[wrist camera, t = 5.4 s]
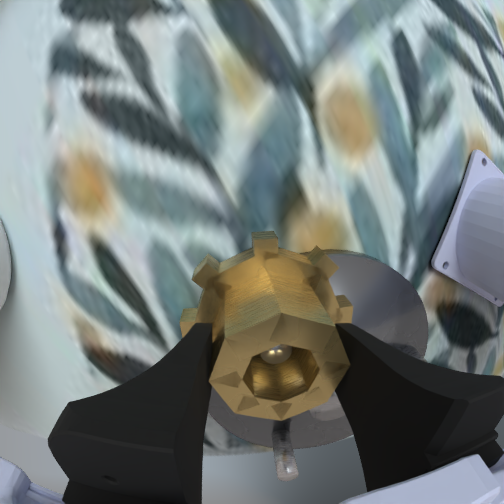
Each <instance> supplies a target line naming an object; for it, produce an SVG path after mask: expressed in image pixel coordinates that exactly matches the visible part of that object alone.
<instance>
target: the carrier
mask: <svg viewBox="0 0 504 504" xmlns="http://www.w3.org/2000/svg"><path fill="white" fill-rule="evenodd" d="M322 251H323V252H324V253H325V254H326V255H327V256H328V257H329V258H330V259H331V260H332V261H333V262H334V263H335V264H336V265H337V266H338V267H339V269H338V270H337V271H336V272H335V273H334V274H333V275H332V276H331V277H330V278H329V282H330V284H331V287H332V289H333V292H334V294H335V296H337V295H345V296H346V298H347V299H348V300H349V301H350V303H351V304H352V305H353V314H352V323H351V324H353V325H355V326H357V327H359V328H361V329H363V330H364V331H366V332H368V333H369V334H371V335H373V336H375V337H376V338H378V339H380V340H381V341H383V342H385V343H387V344H388V345H390V346H392V347H394V348H396V349H398V350H400V351H402V352H404V353H406V354H408V355H410V356H412V357H415V358H417V359H420V360H422V361H425V362H427V360H426V359H425V358H424V356H425V352H426V348H427V341H428V321H427V315H426V311H425V308H424V305H423V302H422V300H421V298H420V296H419V295H418V293H417V291H416V290H415V289H414V287H413V286H412V285H411V284H410V282H409V281H408V280H407V279H405V278H404V277H403V276H402V275H401V274H399V273H398V272H397V271H395V270H394V269H392V268H391V267H390V266H388V265H386V264H385V263H383V262H381V261H379V260H378V259H376V258H373V257H370V256H368V255H365V254H362V253H358V252H353V251H348V250H333V249H330V250H322ZM310 252H311V251H310ZM310 252H305V253H300V254H301V255H304V256H307V255H308V254H309V253H310ZM291 353H292V346H290V345H285V344H280V345H278V346H276V347H273V348H271V349H269V350H266V351H264V352H262V353H260V354H261V357H262V359H263V360H264V361H266V362H268V363H271V364H278V363H282V362H284V361H286V360H287V359H288V358H289V357H290V355H291ZM427 363H428V362H427ZM208 411H209V413H210V414H211V415H212V417H213V418H214V419H215V420H216V421H217V422H218V423H219V424H220V425H221V426H222V427H224V428H225V429H226V430H228V431H229V432H231V433H232V434H234V435H235V436H237V437H239V438H242V439H244V440H246V441H248V442H251V443H254V444H258V445H262V446H266V447H272V448H273V451H274V457H275V463H276V469H277V476H278V479H279V480H281V481H289V480H293V479H295V478H297V477H298V470H297V465H296V461H295V456H294V452H293V449H300V448H310V447H316V446H321V445H325V444H329V443H333V442H336V441H338V440H341V439H344V438H346V437H349V436H351V435H353V431H352V429H351V426H350V424H349V422H348V419H347V417H346V415H345V413H344V411H343V408H342V406H341V404H340V402H339V400H338V397H337V395H336V393H335V391H334V392H333V394H332V395H331V397H330V398H329V400H328V401H327V402H326V403H324V404H321V405H319V406H317V407H314V408H312V409H310V410H307V411H305V412H302V413H300V414H298V415H295V416H292V417H290V418H287V419H285V420H282V421H280V420H273V419H266V418H259V417H253V416H247V415H241V414H235V413H234V412H233V411H232V410H231V408H230V407H229V406H228V405H227V403H226V402H225V401H224V400H223V399H222V397H221V396H220V395H219V394H218V392H217V391H216V390H215V389H214V387H213V386H212V391H211V397H210V402H209V408H208Z"/></svg>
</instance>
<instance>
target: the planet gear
mask: <svg viewBox="0 0 504 504" xmlns="http://www.w3.org/2000/svg"><path fill="white" fill-rule="evenodd" d="M338 269H339V267H338V266H337V265H336V264H335V263H334V262H333V261H332V260H331V259H330V258H329V257H328V256H327V255H326V254H325V253H324V252H323V251H322V250H321V249H320V248H319V247H318V246H316V247H315V248H314V249H313V250H312V251H311V252H310V253H309V254H308V255H307V256H304V255H301V254H298V253H295V252H291V251H288V250H285V249H282V248H279V247H278V237H277V236H276V234H275V233H274V231H264V232H252V248H250V249H248V250H246V251H244V252H242V253H240V254H238V255H236V256H234V257H231V258H229V259H227V260H225V261H223V262H221V263H219V262H218V261H217V260H215V259H214V258H213V257H212V256H210V255H209V254H207V256H206V257H205V258H204V259H203V260H202V261H201V262H200V264H199V265H198V266H197V267H196V268H195V270H194V274H193V277H192V280H193V281H194V282H195V283H196V284H198V285H199V286H200V287H202V288H203V291H202V294H201V297H200V301H199V304H198V307H197V308H188V309H183V312H182V315H181V319H180V327H181V332H182V337H184V336H185V335H186V334H187V332H188V331H189V330H190V329H191V327H192V326H193V325H194V324H195V323H212V334H213V344H212V357H211V365H210V371H209V382H210V384H211V385H212V386H213V387H214V389H215V390H216V391H217V392H218V394H219V395H220V396H221V397H222V399H223V400H224V401H225V402H226V403H227V405H228V406H229V407H230V408H231V410H232V411H233V412H234V413H235V414H241V415H247V416H253V417H259V418H266V419H273V420H280V421H282V420H285V419H287V418H290V417H292V416H295V415H298V414H300V413H302V412H305V411H307V410H310V409H312V408H314V407H317V406H319V405H321V404H324V403H326V402H327V401H328V400H329V398H330V397H331V395H332V394H333V392H334V391H335V389H336V387H337V386H338V384H339V383H340V381H341V380H342V378H343V376H344V375H345V373H346V371H347V370H348V368H349V367H350V362H349V360H348V357H347V354H346V352H345V349H344V347H343V344H342V342H341V339H340V336H339V334H338V331H337V329H336V326H335V323H352V314H353V305H352V304H351V303H350V301H349V300H348V299H347V298H346V296H345V295H337V296H335V294H334V292H333V289H332V287H331V284H330V282H329V278H330V277H331V276H332V275H333V274H334V273H335V272H336V271H337V270H338ZM280 344H285V345H290V346H292V353H291V355H290V357H289V358H288V359H287V360H286V361H284V362H282V363H278V364H271V363H268V362H266V361H264V360H263V359H262V357H261V354H260V353H262V352H264V351H266V350H269V349H271V348H273V347H276V346H278V345H280Z"/></svg>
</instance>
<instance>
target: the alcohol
mask: <svg viewBox="0 0 504 504" xmlns="http://www.w3.org/2000/svg"><path fill="white" fill-rule="evenodd" d="M10 280H11V255H10V248H9V243H8V239H7V235H6V232H5V229H4V227H3V224H2V221H1V219H0V310H1V308H2V307H3V305H4V303H5V300H6V297H7V293H8V289H9V284H10Z"/></svg>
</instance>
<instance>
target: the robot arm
mask: <svg viewBox="0 0 504 504" xmlns="http://www.w3.org/2000/svg"><path fill="white" fill-rule="evenodd" d="M482 161H483V164H482ZM444 262H445V265H444V267H443V264H444ZM431 264H432V267H433V268H434V269H436V270H437V271H439V272H441V273H443V274H445V275H446V276H448V277H450V278H452V279H453V280H455V281H457V282H458V283H460V284H462V285H464V286H465V287H467V288H469V289H470V290H472V291H474V292H475V293H477V294H479V295H480V296H482V297H484V298H485V299H487V300H489V301H490V302H492V303H493V304H495V305H497V306H498V307H500V306H502V305H503V303H504V174H503V173H502V172H501V171H500V170H499V169H498V168H497V166H496V165H495V164H494V163H493V162H492V161H491V160H490V159H489V158H488V157H487V156H486V155H485V154H484V153H483V152H482V151H480V150H474V151H473V152H472V154H471V158H470V161H469V164H468V168H467V171H466V174H465V177H464V180H463V183H462V186H461V189H460V192H459V195H458V197H457V200H456V203H455V205H454V208H453V211H452V213H451V216H450V218H449V221H448V223H447V226H446V228H445V231H444V233H443V235H442V238H441V240H440V242H439V245H438V247H437V249H436V251H435V254H434V256H433V258H432V261H431ZM335 326H336V329H337V331H338V334H339V336H340V339H341V342H342V344H343V347H344V349H345V352H346V354H347V357H348V360H349V362H350V367H349V368H348V370H347V371H346V373H345V375H344V376H343V378H342V380H341V381H340V383H339V384H338V386H337V387H336V389H335V393H336V395H337V397H338V400H339V402H340V404H341V406H342V408H343V411H344V413H345V415H346V417H347V419H348V422H349V424H350V426H351V429H352V431H353V434H354V437H355V441H356V444H357V448H358V451H359V455H360V459H361V463H362V467H363V472H364V477H365V482H366V487H367V493H364V494H361V495H358V496H355V497H352V498H349V499H347V500H345V501H343V502H341V503H339V504H504V449H501V448H500V446H499V445H498V444H497V442H496V441H495V439H497V437H498V433H497V432H496V431H495V430H494V429H495V427H496V426H497V424H498V423H499V421H500V419H501V418H502V416H503V415H504V378H503V377H501V376H494V375H479V374H471V373H465V372H459V371H455V370H450V369H447V368H443V367H440V366H436V365H433V364H430V363H427V362H425V361H422V360H420V359H417V358H415V357H412V356H410V355H408V354H406V353H404V352H402V351H400V350H398V349H396V348H394V347H392V346H390V345H388V344H387V343H385V342H383V341H381V340H380V339H378V338H376V337H375V336H373V335H371V334H369V333H368V332H366V331H364V330H363V329H361V328H359V327H357V326H355V325H353V324H351V323H335ZM212 344H213V334H212V323H195V324H194V325H193V326H192V327H191V329H190V330H189V331H188V332H187V334H186V335H185V336H184V337H183V338H182V339H181V341H180V342H179V343H178V344H177V345H176V346H175V347H174V348H173V349H172V350H171V351H170V352H169V353H168V354H167V355H165V356H164V357H163V358H162V359H161V360H160V361H159V362H157V363H156V364H155V365H154V366H152V367H151V368H150V369H148V370H147V371H145V372H144V373H142V374H140V375H139V376H137V377H135V378H133V379H131V380H130V381H128V382H126V383H124V384H122V385H120V386H118V387H115V388H113V389H111V390H108V391H106V392H103V393H100V394H97V395H94V396H91V397H87V398H84V399H80V400H76V401H72V402H69V403H68V404H67V406H66V407H65V409H64V410H63V411H62V413H61V415H60V417H59V419H58V420H57V422H56V424H55V426H54V428H53V430H52V432H51V434H50V435H49V437H48V446H49V448H50V450H51V452H52V454H53V456H54V457H55V459H56V461H57V462H58V464H59V465H60V466H61V468H62V470H63V471H64V472H65V474H66V475H67V477H68V478H69V482H68V485H67V487H66V490H65V492H64V495H63V494H60V493H57V492H54V491H52V490H49V489H47V488H45V487H42V486H40V485H37V484H35V483H33V482H31V481H30V479H29V478H28V476H27V475H26V474H25V472H24V471H22V469H20V468H19V467H18V466H16V465H15V464H13V463H11V462H9V461H7V460H6V459H4V458H2V457H0V504H202V460H203V440H204V432H205V426H206V420H207V414H208V408H209V402H210V397H211V391H212V385H211V384H210V382H209V371H210V365H211V357H212Z"/></svg>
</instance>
